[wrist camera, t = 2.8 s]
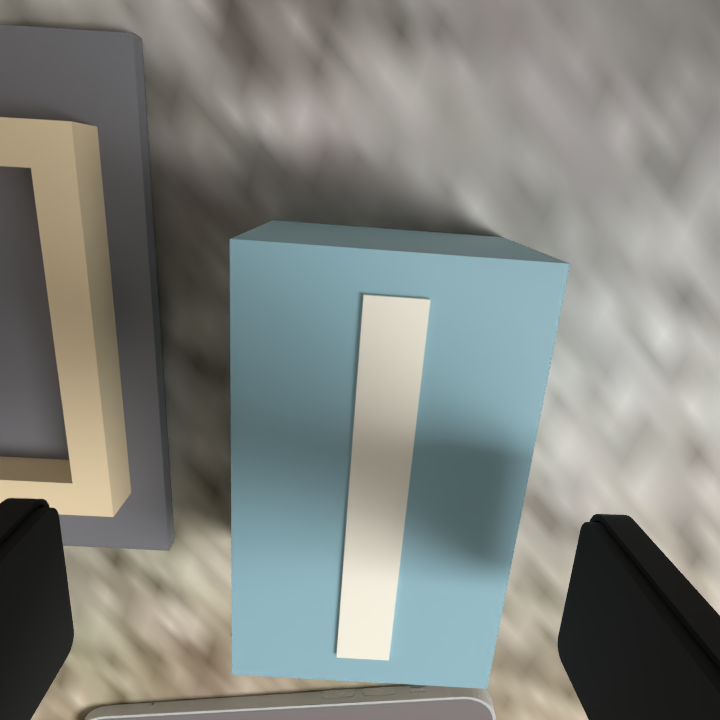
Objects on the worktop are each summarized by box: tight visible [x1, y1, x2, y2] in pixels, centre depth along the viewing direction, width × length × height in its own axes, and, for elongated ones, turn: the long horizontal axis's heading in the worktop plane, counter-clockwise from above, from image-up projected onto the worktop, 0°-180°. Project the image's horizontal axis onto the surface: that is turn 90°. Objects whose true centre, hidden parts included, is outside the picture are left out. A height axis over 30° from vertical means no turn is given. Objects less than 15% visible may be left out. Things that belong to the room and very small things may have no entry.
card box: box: [230, 220, 570, 689], centre depth 13 cm, size 10×6×5 cm, turn 176°
